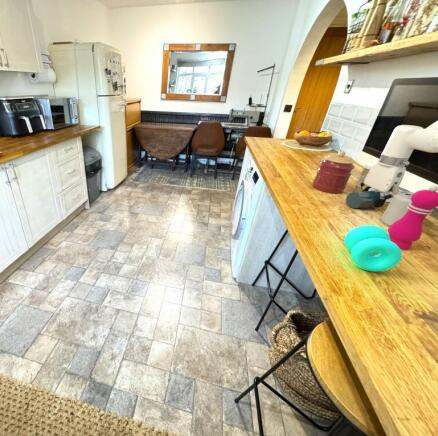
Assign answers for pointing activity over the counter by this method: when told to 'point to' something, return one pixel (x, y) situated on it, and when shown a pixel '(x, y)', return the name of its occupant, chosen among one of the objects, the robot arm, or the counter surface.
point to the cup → (362, 199)
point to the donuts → (372, 248)
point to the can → (397, 207)
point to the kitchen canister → (334, 173)
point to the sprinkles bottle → (363, 174)
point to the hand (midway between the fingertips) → (369, 202)
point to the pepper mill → (413, 218)
